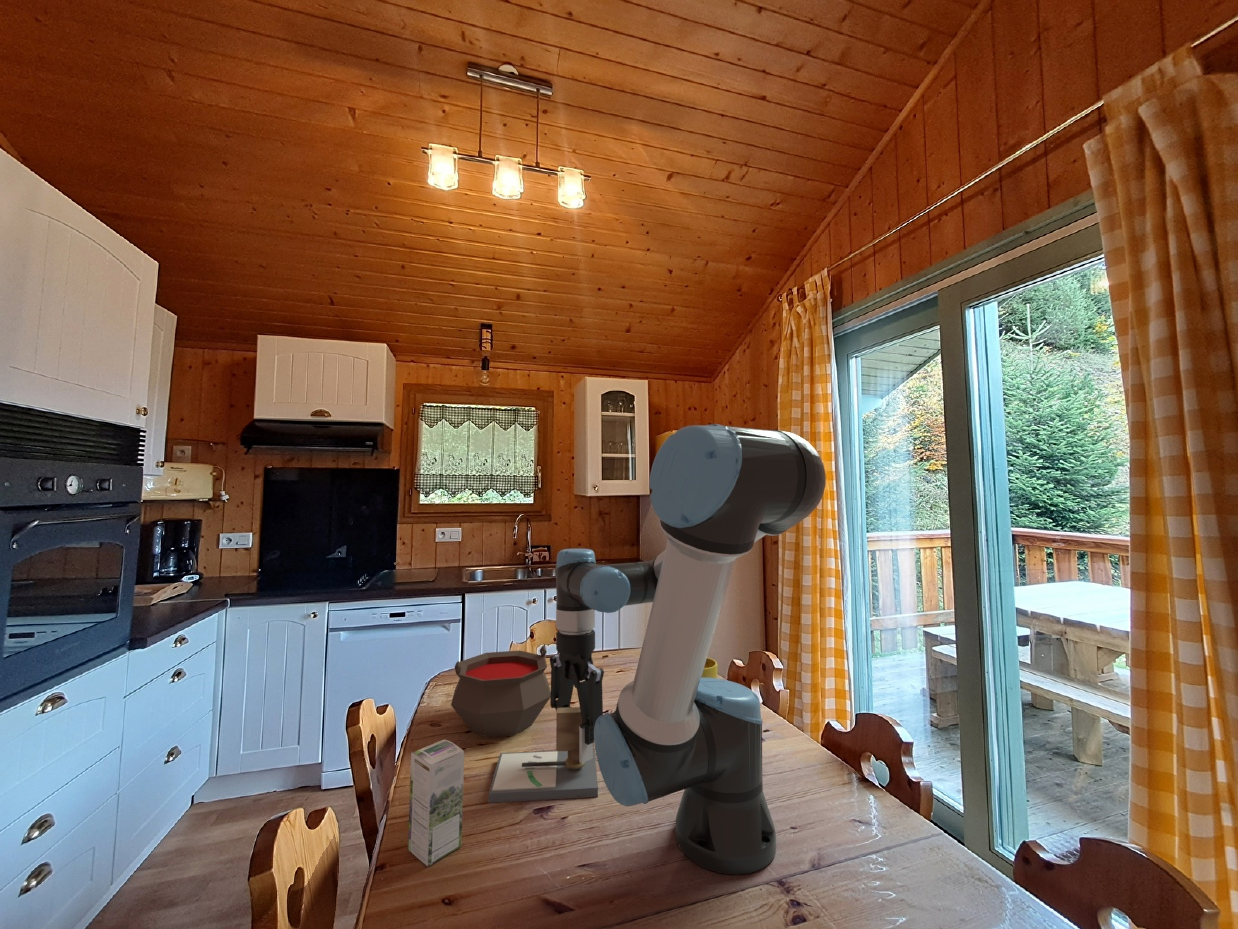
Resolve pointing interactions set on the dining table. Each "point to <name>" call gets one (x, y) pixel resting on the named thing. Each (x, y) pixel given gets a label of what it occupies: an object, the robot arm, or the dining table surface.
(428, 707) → the dining table surface
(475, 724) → the brown soup pot
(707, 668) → the plant pot
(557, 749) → the wooden pointer lever
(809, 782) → the dining table surface
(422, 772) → the syrup box
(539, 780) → the tuner board
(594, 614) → the robot arm
